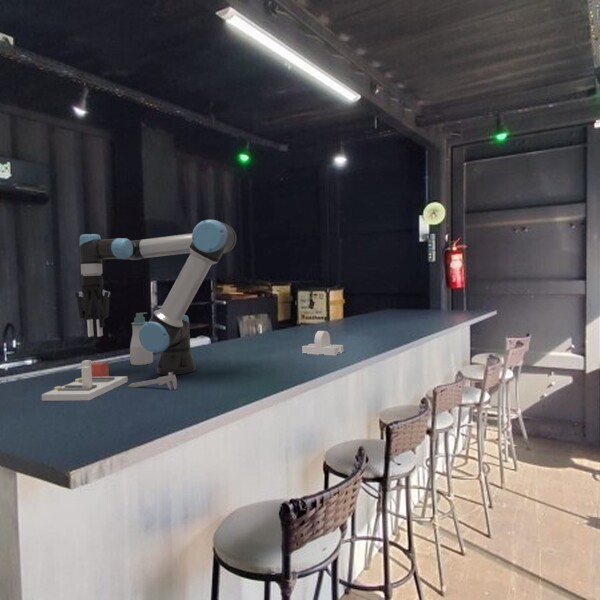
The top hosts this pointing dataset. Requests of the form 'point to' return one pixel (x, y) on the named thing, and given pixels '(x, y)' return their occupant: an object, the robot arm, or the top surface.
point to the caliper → (159, 381)
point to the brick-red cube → (100, 369)
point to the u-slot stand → (322, 345)
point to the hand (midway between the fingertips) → (95, 336)
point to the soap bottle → (139, 344)
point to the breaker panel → (84, 389)
